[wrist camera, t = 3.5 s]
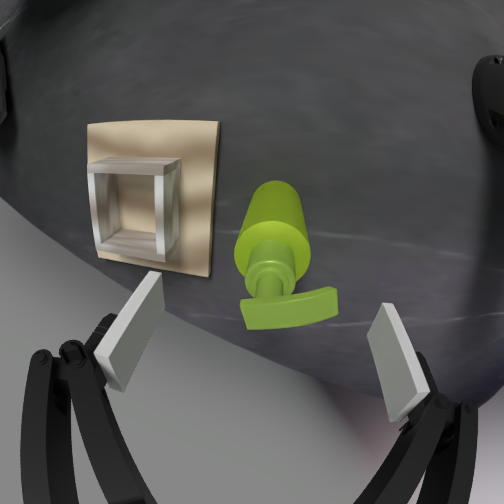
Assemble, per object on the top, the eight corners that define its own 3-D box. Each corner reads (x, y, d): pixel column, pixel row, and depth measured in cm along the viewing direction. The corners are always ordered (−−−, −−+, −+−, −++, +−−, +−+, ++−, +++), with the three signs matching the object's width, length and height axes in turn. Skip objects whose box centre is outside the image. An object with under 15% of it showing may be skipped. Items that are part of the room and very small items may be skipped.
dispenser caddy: (94, 123, 29) (63, 129, 23) (220, 121, 28) (205, 122, 22) (103, 252, 38) (80, 274, 33) (210, 271, 38) (198, 299, 32)
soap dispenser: (312, 221, 33) (340, 344, 15) (257, 230, 34) (230, 355, 17) (304, 175, 30) (336, 261, 13) (246, 185, 32) (200, 280, 14)
